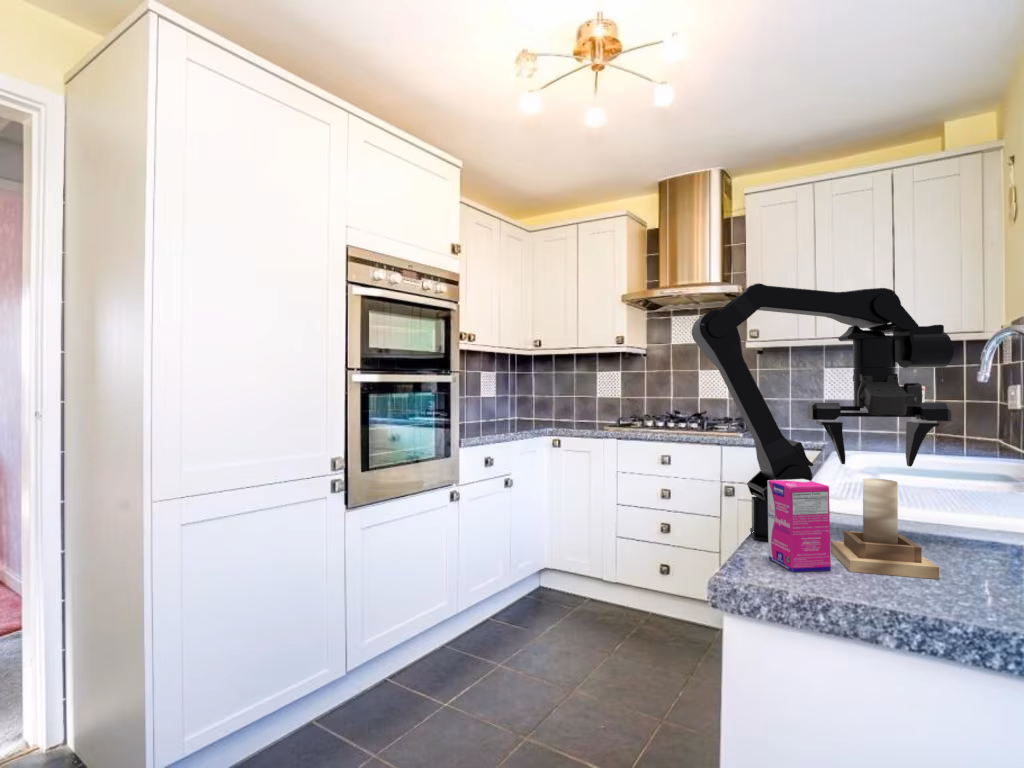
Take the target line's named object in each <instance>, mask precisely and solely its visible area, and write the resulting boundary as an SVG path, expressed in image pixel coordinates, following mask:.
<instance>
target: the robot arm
mask: <svg viewBox="0 0 1024 768" xmlns="http://www.w3.org/2000/svg"><path fill="white" fill-rule="evenodd" d="M757 311H763V312H774V313H783V314H792V315H803V316H804V315H805V316H811V317H813V316H815V317H824V318H828V319H832V320H834V321H837V323H840V324H844V325H847V326H849V327H848V328H847V330H846V331H845V332H844V333H843V334H842V335H840V336H839V337H838V341H839V342H852V348H853V349H852V353H853V354H852V359H853V360H852V362H853V363H852V367H853V369H852V370H853V373H852V382H853V401H852V403H853V404H852V405H841V404H840V402H836V401H835V402H831V401H829V402H828V401H827V402H826V401H825V402H822V401H821V402H818V401H817V402H814V401H813V402H812V401H811V402H810V403H809V404H808V405H807V409H806V412H807V413H806V414H807V418H806V419H808V420H812V421H813V420H816V421H815V424H816V425H820V426H823V427H824V429H825V431H826V433H827V435H828V436H829V439H830V440H831V443H832V444H833V447H834V450H835V452H836V454H837V457H838V459H839V462H840V464H842V465H846V450H845V444H844V443H845V442H844V435H843V426H844V422H842V421H840V420H839V419H840V418H841V417H856V418H857V417H858V418H859V417H860V418H861V417H862V418H910V421H908V420H907V421H906V426H905V460H906V462H905V463H906V466H907V467H913V465H914V462H915V460H916V458H917V455H918V453H919V450H920V448H921V446H922V443H923V442H924V440H925V438H926V436H927V434H928V433H929V432H930V431H931V430H933V428H939V427H940V426H941V424H942V423H939V422H952V409H951V407H950V406H949V405H948V404H947V402H935V401H934V402H929V401H928V402H923V387H922V386H923V385H922V384H921V383H919V382H905V383H904V384H903V385H900V383H899V377H898V373H897V372H896V370H897V369H896V363H897V364H898V366H899V367H901V368H903V369H904V368H905V369H911V368H912V369H914V368H915V369H921V368H923V369H926V368H927V369H929V368H930V369H931V368H933V369H935V368H936V369H937V368H945V367H947V366H948V365H949V364H950V363H951V361H952V360H953V356H954V353H955V352H954V351H955V346H954V343H952V342H953V341H952V339H951V337H950V336H949V335H948V333H947V332H945V326H944V325H943V324H933V325H925V326H924V325H923V326H920V325H919V324H918V323H917V322H916V321H915V320H914V318H913V317H912V315H910V313H909V312H908V311H907V309H905V308H904V306H903V305H902V302H901V298H900V297H899V296H898V295H897V294H896V291H894V290H893V289H892V288H887V287H874V288H864V289H862V288H861V289H855V290H848V291H828V290H817V289H810V288H809V289H808V288H797V287H785V286H776V285H775V286H774V285H766V284H764V283H760V282H759V283H753V284H751V285H748V286H747V287H746V288H744V289H743V290H742V291H741V292H740V293H739V294H738V296H736V297H735V298H733V299H732V300H731V301H729V302H728V303H727V304H725V305H724V306H722V307H721V308H720V309H713V310H711V311H709V312H707V313H705V314H703V315H701V316H700V317H699V318H697V319H696V320H695V322H694V323H693V325H692V327H691V328H692V329H691V336H692V339H693V341H694V342H695V344H696V345H697V346H698V347H699V349H700V351H701V352H702V353H703V354H704V355H705V357H707V358H708V360H709V361H710V362H711V363H712V364H713V365H714V366H715V367H716V368H717V371H718V372H719V373H720V376H721V377H722V379H723V382H724V383H725V385H726V388H727V390H728V391H729V393H730V396H731V397H732V399H733V402H734V403H735V405H736V407H737V409H738V412H739V413H740V415H741V417H742V419H743V421H744V423H745V425H746V427H747V429H748V431H749V433H750V434H751V437H752V440H753V441H754V444H755V452H756V460H757V463H758V467H759V471H758V472H757V473H756V474H755V475H754V476H753V477H752V478H751V479H749V481H748V482H747V483H746V485H747V488H748V490H749V493H750V495H752V496H751V527H750V528H749V531H750V534H751V533H752V532H753V531H754V532H753V533H752V534H751V536H752V538H753V539H754V540H756V541H765V542H767V541H768V482H767V481H768V480H792V479H805V480H809V481H812V480H813V472H812V469H811V467H814V463H812V462H811V461H810V459H809V458H808V457H807V455H806V451H805V449H804V446H803V443H802V442H800V441H796V440H792V439H788V438H786V437H785V436H784V435H783V433H782V432H781V429H780V428H779V426H778V424H777V422H776V420H775V418H774V416H773V414H772V412H771V411H770V408H769V406H768V404H767V403H766V400H765V398H764V396H763V394H762V392H761V390H760V389H759V386H758V385H757V383H756V381H755V378H754V376H753V375H752V373H751V371H750V368H749V367H748V365H747V362H746V360H745V358H744V355H743V348H742V340H741V335H740V331H739V329H738V327H739V326H740V325H741V324H743V323H744V322H746V321H747V319H749V318H750V317H751V316H752V315H753V314H755V313H756V312H757ZM863 329H865V330H863ZM891 334H892V335H891ZM864 408H866V409H865V410H861V409H864Z"/></svg>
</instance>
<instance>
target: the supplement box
mask: <svg viewBox="0 0 1024 768" xmlns="http://www.w3.org/2000/svg"><path fill="white" fill-rule="evenodd" d="M767 482H768V559H769V560H770V561H771V562H774V563H776V564H778V565H779V566H782V567H783V568H785V569H786V570H788V571H790V572H792V573H799V572H800V573H803V572H805V573H806V572H807V573H808V572H831V571H832V569H831V568H832V565H831V561H832V560H831V527H830V526H831V522H830V520H831V519H830V518H831V517H830V513H831V512H830V486H829V485H827V484H823V483H819V482H816V481H812V480H811V481H809V480H805V479H792V480H768V481H767Z"/></svg>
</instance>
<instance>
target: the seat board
mask: <svg viewBox="0 0 1024 768" xmlns="http://www.w3.org/2000/svg"><path fill="white" fill-rule="evenodd" d="M830 553H832V554H833V556H835V557H836V558H837V560H839V561H840V563H841V564H843V566H844V567H845V568H846V569H847V570H848V572H850V573H862V574H875V575H884V576H885V575H886V576H898V577H910V578H919V579H921V578H922V579H933V580H940V567H939V566H938V565H937V564H935V563H933V562H932V561H930V560H929V559H927V558H926V557H924V556H923V555H922V554H923V553H922V547H921V546H919V545H918V544H916V543H914V542H913V541H912V540H910V539H909V538H907V537H905V536H904V535H903V534H900V533H898V545H896V544H881V543H867V542H863V531H854V530H843V541H838V540H837V541H836V540H835V541H834V540H830Z"/></svg>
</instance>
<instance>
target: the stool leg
mask: <svg viewBox="0 0 1024 768" xmlns="http://www.w3.org/2000/svg"><path fill="white" fill-rule="evenodd" d="M898 497H899V496H898V481H896V480H892V479H884V478H864V479H862V532H863V542H867V543H881V544H896V545H898V534H899V527H898V526H899V525H898V523H899V522H898V521H899V520H898V518H899V517H898V516H899V515H898V514H899V513H898V512H899V511H898V509H899V508H898Z"/></svg>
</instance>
